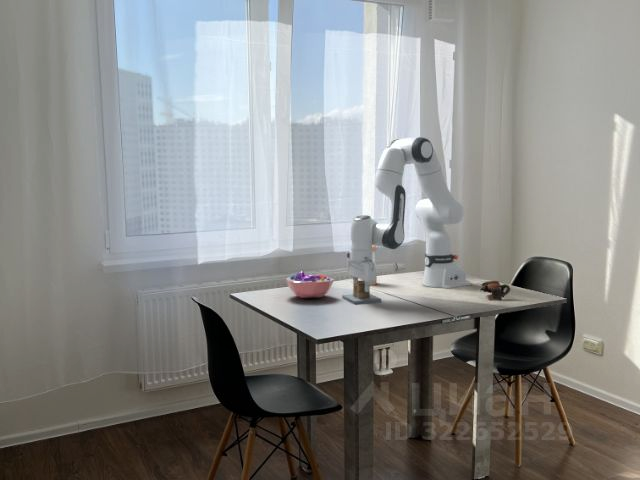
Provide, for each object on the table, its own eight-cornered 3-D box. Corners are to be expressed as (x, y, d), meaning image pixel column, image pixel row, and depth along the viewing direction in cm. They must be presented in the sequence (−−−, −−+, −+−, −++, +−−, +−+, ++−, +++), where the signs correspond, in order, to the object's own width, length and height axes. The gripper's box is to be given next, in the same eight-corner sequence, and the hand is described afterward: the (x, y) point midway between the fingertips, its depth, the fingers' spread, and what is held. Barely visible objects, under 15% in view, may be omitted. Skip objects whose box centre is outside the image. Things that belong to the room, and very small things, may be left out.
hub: (368, 295, 271) (368, 282, 270) (381, 301, 260) (381, 287, 259) (342, 298, 267) (342, 284, 266) (354, 304, 256) (354, 290, 255)
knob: (364, 295, 266) (364, 279, 266) (369, 297, 262) (369, 281, 261) (353, 296, 265) (353, 280, 264) (358, 298, 260) (358, 282, 259)
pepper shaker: (376, 282, 299) (377, 241, 296) (376, 285, 291) (376, 243, 289) (361, 281, 299) (361, 241, 297) (360, 285, 292) (360, 243, 290)
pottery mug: (480, 301, 262) (477, 282, 265) (485, 306, 270) (481, 288, 273) (510, 296, 258) (507, 276, 261) (514, 301, 266) (510, 282, 269)
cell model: (329, 303, 258) (329, 275, 256) (281, 301, 262) (281, 274, 260) (337, 294, 274) (337, 268, 272) (291, 292, 278) (291, 266, 276)
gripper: (380, 259, 252) (380, 293, 254) (358, 251, 271) (358, 283, 273) (365, 260, 250) (365, 294, 252) (344, 252, 269) (344, 285, 271)
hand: (361, 289), depth 263 cm, fingers open, 8 cm apart
